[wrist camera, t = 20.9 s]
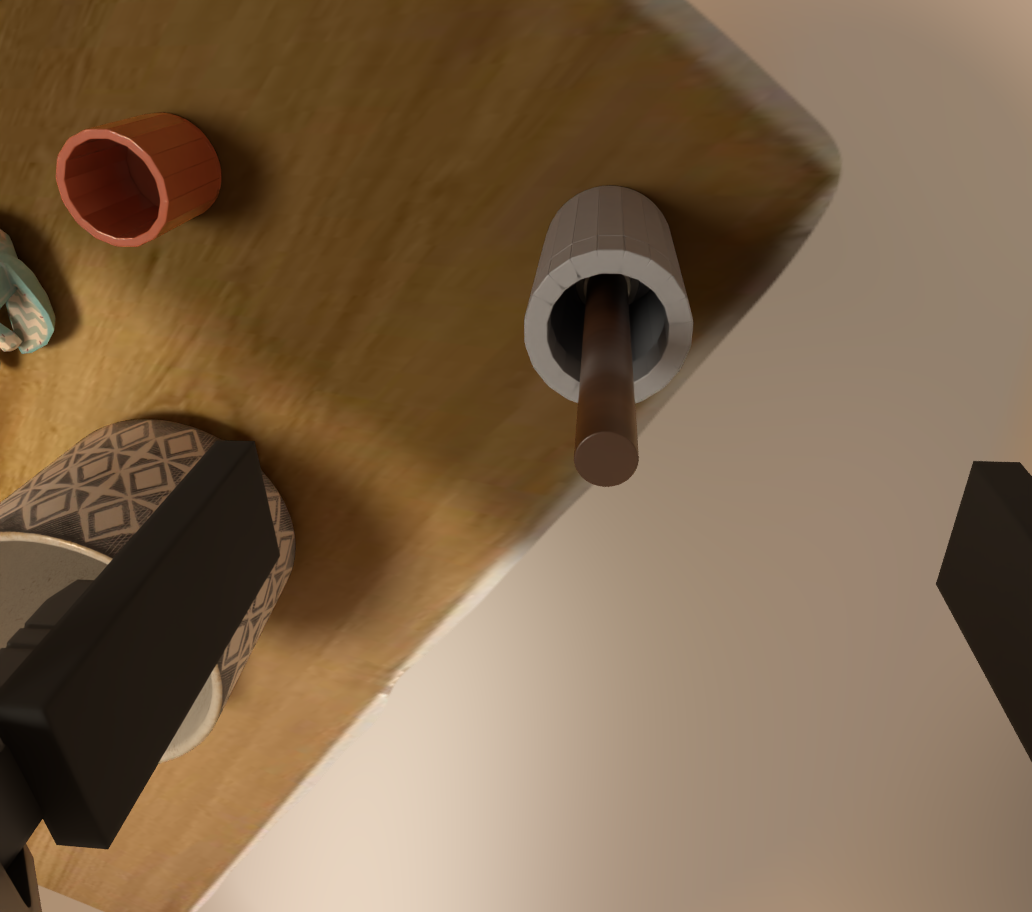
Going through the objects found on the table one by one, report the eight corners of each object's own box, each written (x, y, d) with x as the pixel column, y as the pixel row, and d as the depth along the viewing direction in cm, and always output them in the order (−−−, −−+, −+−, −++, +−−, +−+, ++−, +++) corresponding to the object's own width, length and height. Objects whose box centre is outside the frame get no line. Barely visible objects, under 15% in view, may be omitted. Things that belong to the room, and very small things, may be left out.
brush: (638, 225, 48) (663, 414, 26) (635, 284, 49) (655, 506, 28) (578, 225, 48) (553, 411, 26) (577, 283, 50) (553, 502, 28)
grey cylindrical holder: (676, 185, 47) (700, 250, 35) (666, 312, 51) (684, 410, 39) (544, 185, 48) (523, 249, 36) (545, 310, 51) (525, 405, 39)
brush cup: (210, 112, 47) (152, 128, 41) (230, 217, 50) (179, 247, 44) (111, 112, 48) (40, 129, 42) (138, 217, 51) (75, 246, 45)
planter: (358, 528, 62) (284, 686, 48) (214, 640, 69) (113, 805, 55) (158, 351, 56) (5, 472, 42) (24, 496, 64) (-143, 639, 49)
